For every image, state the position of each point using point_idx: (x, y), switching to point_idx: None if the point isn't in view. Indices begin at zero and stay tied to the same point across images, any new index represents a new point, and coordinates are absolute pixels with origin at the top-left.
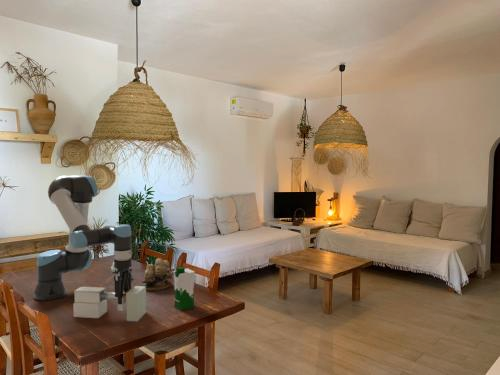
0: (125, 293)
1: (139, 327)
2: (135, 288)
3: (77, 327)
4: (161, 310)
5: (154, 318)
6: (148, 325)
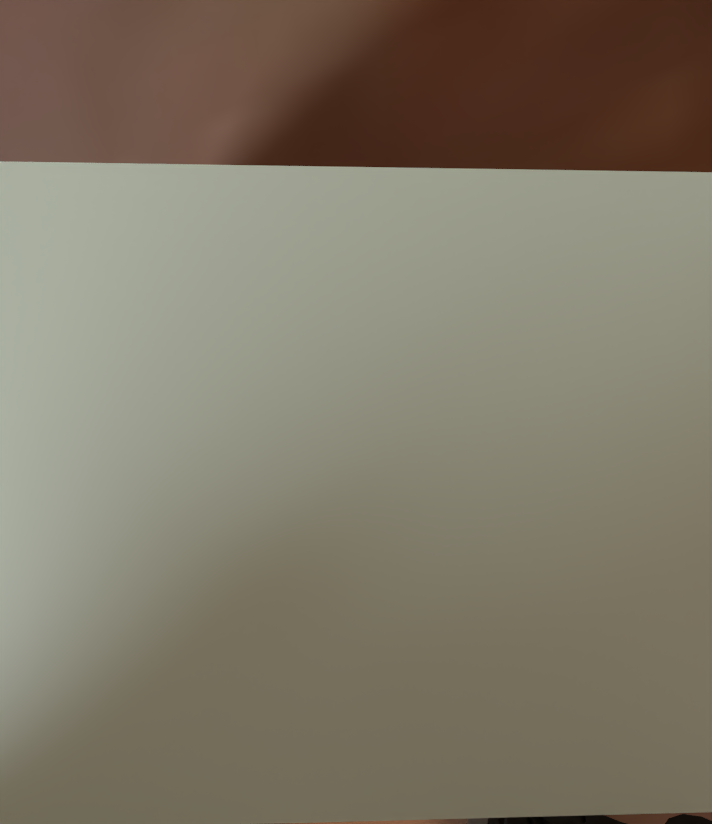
0: (406, 822)
1: (680, 144)
2: (29, 691)
3: (650, 814)
4: (2, 13)
5: (349, 19)
6: (615, 21)
